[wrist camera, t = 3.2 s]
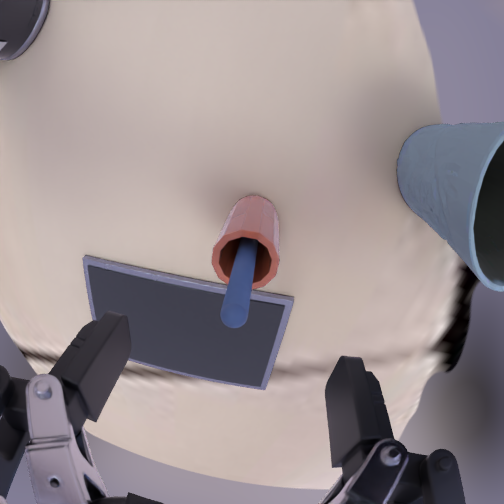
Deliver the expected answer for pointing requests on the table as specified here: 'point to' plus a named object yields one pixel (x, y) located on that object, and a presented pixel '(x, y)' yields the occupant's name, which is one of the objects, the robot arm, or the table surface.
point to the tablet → (189, 323)
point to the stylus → (240, 285)
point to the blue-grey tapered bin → (460, 190)
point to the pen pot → (250, 226)
